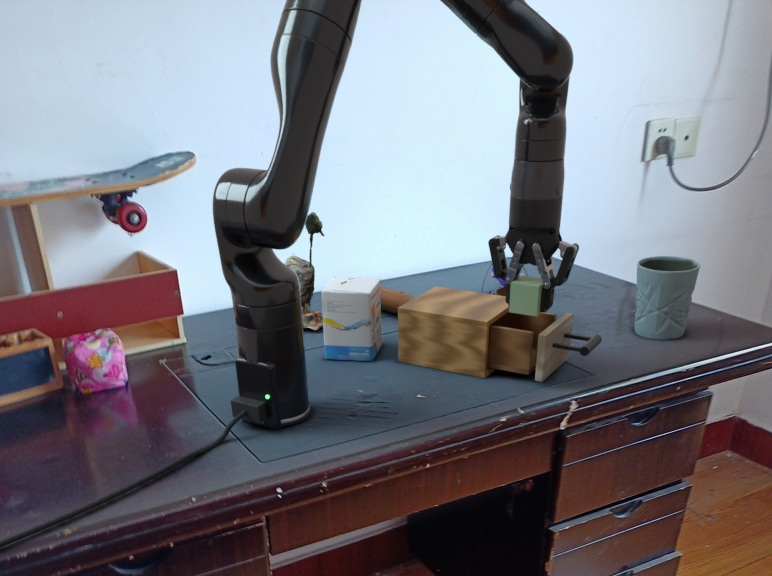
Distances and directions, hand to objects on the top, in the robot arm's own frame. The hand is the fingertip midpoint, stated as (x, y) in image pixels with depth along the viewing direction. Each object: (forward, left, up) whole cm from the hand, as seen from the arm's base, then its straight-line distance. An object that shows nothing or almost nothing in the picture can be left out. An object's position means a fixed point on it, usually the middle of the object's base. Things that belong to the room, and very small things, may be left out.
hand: (528, 308), depth 128 cm
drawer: (0, -1, -9) cm, 9 cm away
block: (0, 0, 0) cm, 0 cm away
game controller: (+34, +18, -10) cm, 40 cm away
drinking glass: (+27, -14, -10) cm, 32 cm away
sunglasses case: (+17, +34, -10) cm, 39 cm away
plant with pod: (+2, +45, -10) cm, 46 cm away
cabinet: (0, +12, -10) cm, 15 cm away
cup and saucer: (+19, +10, -10) cm, 24 cm away
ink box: (-6, +29, -10) cm, 31 cm away
